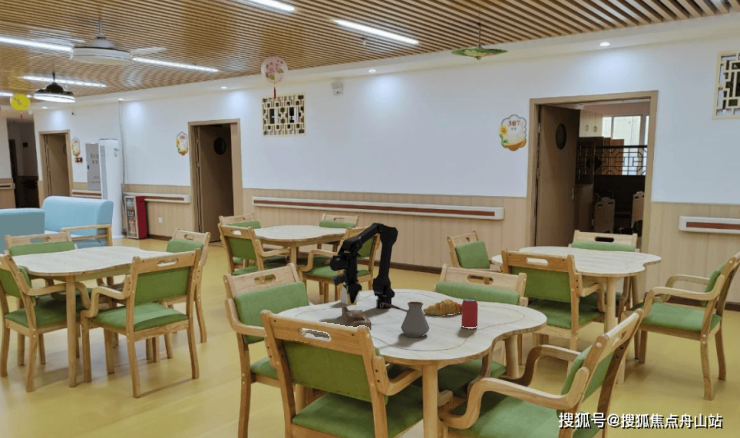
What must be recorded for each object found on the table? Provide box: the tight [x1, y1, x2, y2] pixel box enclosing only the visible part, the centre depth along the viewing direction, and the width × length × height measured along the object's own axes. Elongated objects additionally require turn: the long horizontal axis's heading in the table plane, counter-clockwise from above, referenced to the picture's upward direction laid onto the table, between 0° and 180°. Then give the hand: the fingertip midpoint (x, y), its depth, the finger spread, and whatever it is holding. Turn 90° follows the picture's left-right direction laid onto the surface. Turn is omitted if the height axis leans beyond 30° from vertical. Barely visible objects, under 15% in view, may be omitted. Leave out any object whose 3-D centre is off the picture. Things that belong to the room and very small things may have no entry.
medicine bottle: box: [339, 286, 360, 304], centre depth 275 cm, size 7×7×12 cm
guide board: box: [341, 305, 372, 330], centre depth 243 cm, size 9×20×6 cm, turn 13°
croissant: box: [422, 298, 462, 316], centre depth 258 cm, size 21×10×8 cm, turn 102°
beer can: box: [461, 297, 479, 327], centre depth 236 cm, size 7×7×12 cm
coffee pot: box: [380, 301, 430, 338], centre depth 224 cm, size 21×12×15 cm, turn 115°
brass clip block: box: [345, 292, 357, 307], centre depth 249 cm, size 4×4×5 cm
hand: (351, 302), depth 249 cm, fingers closed on brass clip block, 4 cm apart
